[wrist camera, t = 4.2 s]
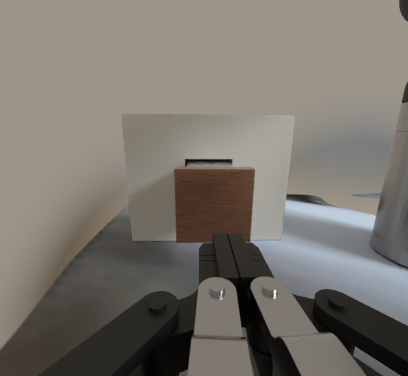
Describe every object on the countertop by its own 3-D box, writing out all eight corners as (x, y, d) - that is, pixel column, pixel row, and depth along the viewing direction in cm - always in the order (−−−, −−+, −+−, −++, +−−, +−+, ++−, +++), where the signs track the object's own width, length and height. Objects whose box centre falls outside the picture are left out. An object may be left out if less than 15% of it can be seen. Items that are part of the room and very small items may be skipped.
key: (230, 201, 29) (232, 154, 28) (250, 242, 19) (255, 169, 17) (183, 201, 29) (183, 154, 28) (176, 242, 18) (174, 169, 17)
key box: (263, 217, 37) (271, 119, 33) (281, 239, 29) (295, 115, 25) (146, 217, 36) (139, 118, 32) (132, 241, 28) (121, 113, 24)
